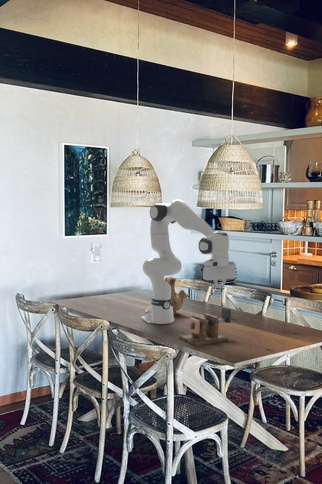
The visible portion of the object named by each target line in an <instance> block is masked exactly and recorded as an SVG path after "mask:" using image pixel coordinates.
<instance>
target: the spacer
mask: <svg viewBox="0 0 322 484" xmlns="http://www.w3.org/2000/svg"><path fill="white" fill-rule="evenodd" d="M189 322H193V323H195V328H194V327H189V326H188V331H189V332H190V333H191V334H192V333H195V334H200V320H198V319H195V318H192V317H188V323H189Z"/></svg>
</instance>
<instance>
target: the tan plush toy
mask: <svg viewBox="0 0 322 484" xmlns="http://www.w3.org/2000/svg"><path fill="white" fill-rule="evenodd" d="M164 279H165V282H167V283H169V284H170V286H171V299H172V304H171V306H172V307H173V316H176V315H177V311H179V310H181V308H182V307H183V304H184V299H187V298H189V297H190V294H188V293H186V292H185V290H184V289H181V290H179V292H178V293H177V292H176V289H175V285H176V280H177V278H175V277H171V276H167V277H164Z"/></svg>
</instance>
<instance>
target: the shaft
mask: <svg viewBox="0 0 322 484" xmlns="http://www.w3.org/2000/svg"><path fill="white" fill-rule="evenodd" d="M231 320H232V309H231V308H228V307H225V306H222V307H221V317H220V318H219V324H223V323H227V324H231V322H232V321H231ZM206 325H211V320H206ZM187 326H188V328H189V327H195V323H193V322H189V321H188V325H187Z"/></svg>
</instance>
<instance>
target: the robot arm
mask: <svg viewBox="0 0 322 484" xmlns="http://www.w3.org/2000/svg"><path fill="white" fill-rule="evenodd" d="M149 216H150V218H151V220H150V229H149V230H150V232H149V233H150V243H151V249H152V250H153V251H155V252H156V253H157V254H158V256H159V257H152V258H149V259H146V260H145V261H143V264H142V271H143V273H144V275H146V276H147V277H148V278H149V279H150V280H149V281H150V282H151V285H152V298H150V301H151V302H150V304H149V305H148V306H147V307H146V308H145V311H144V315H142V316H140V318H141V320H143V321H145V322H146V323H148V324H159V325H165V324H166V325H167V324H171V323H173V322H174V321H175V320H176V318H175V317H174V315H173V307H172V306H171V304H172V299H171V286H170V284H169V283H167V282H165V276H173V275H177V274H179V273H180V272H181V271H182V268H183V267H182V261H181V260H180V259H179V258H178V257H177V256H176V255H175V254H174V252H173V250H172V247H171V241H170V235H169V233H170V232H169V225H170V224H172V225H173V224H175V223H177V224H178V225H179V226H180V227H182V229H184V230H189V231H195V232H198V233H200V234H202V235H204V237H201V238H200V240H199V241H198V249H199V252H200V254H203V255H211V258H209V259H208V260H205V261H204V262H203V265H204V266H203V269H202V279H203V281H213V284H214V288H215V289H219V288H221V289H222V288H225V284H226V281H227V280H231V279H232V280H233V279H236V277H237V269H236V262H234V261H229V258H230V257H229V250H230V240H229V238H230V237H229V234H228V233H226V232H225V231H220V230H219V231H217V230H215V229H214V227H212V226H211V225H210V224H209V223H208V222H207V221H206V220H204V218H201V216H199V215H198V214H197V213H196V212H195V211H194V210H193V209H192V208H191V207H190V205H188V204H187V203H186V202H185V201H183V200H181V199H175V200H172V201H171V203H170V202H168V203H167V202H164V203H158V202H157V203H154V204H153V205H151V207H150V209H149ZM218 280H219V281H220V280H221V283H219V284H218Z"/></svg>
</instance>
